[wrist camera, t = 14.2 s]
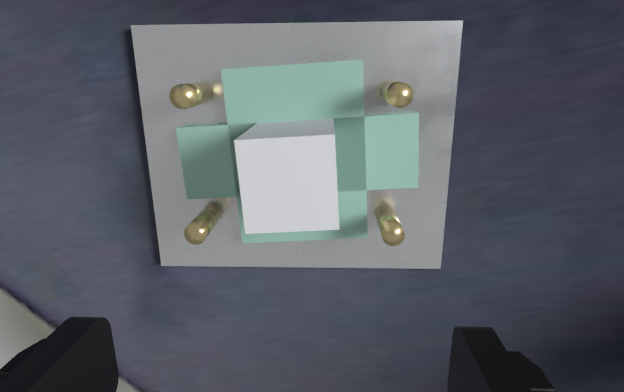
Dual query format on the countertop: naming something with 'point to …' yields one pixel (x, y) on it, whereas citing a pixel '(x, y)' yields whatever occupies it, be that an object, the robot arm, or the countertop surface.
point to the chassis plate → (377, 100)
